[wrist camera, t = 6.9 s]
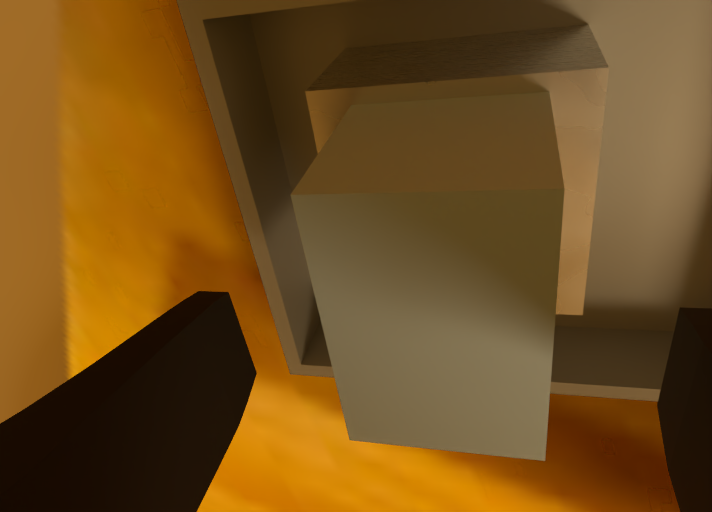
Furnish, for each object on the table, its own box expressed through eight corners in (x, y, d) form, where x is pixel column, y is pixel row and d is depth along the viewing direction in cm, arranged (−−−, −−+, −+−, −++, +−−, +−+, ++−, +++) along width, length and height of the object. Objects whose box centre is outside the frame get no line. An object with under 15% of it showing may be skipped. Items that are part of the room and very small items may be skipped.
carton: (549, 91, 10) (564, 188, 7) (537, 324, 14) (545, 460, 11) (351, 105, 12) (290, 194, 8) (384, 318, 15) (349, 440, 12)
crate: (867, -117, 11) (967, -111, 8) (728, 334, 17) (762, 409, 15) (230, -24, 15) (176, -2, 12) (315, 317, 21) (290, 374, 19)
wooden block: (588, 24, 13) (609, 67, 10) (570, 237, 16) (582, 315, 13) (345, 48, 14) (304, 91, 12) (374, 237, 18) (348, 306, 15)
